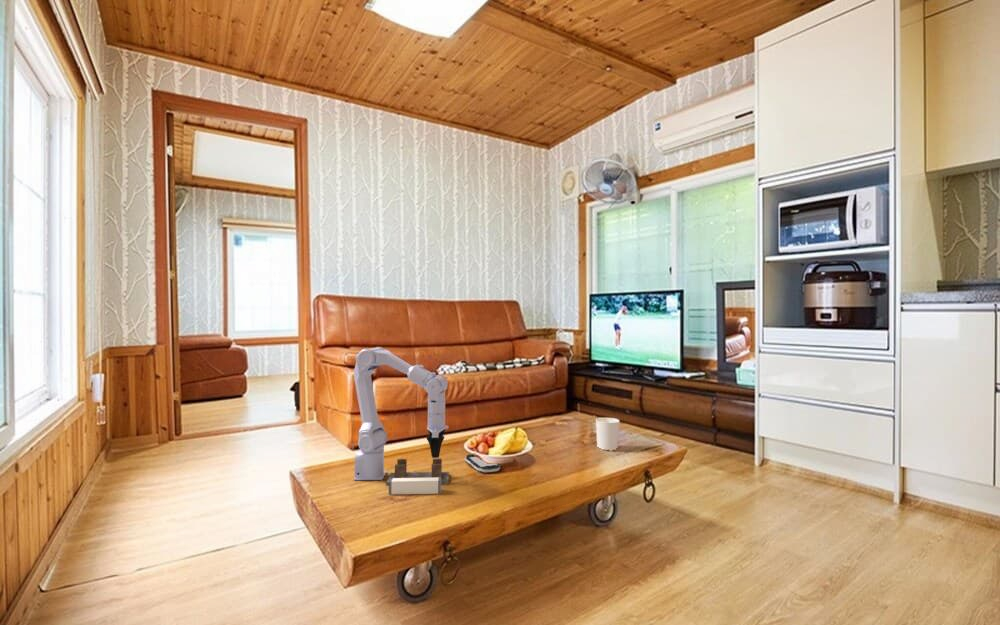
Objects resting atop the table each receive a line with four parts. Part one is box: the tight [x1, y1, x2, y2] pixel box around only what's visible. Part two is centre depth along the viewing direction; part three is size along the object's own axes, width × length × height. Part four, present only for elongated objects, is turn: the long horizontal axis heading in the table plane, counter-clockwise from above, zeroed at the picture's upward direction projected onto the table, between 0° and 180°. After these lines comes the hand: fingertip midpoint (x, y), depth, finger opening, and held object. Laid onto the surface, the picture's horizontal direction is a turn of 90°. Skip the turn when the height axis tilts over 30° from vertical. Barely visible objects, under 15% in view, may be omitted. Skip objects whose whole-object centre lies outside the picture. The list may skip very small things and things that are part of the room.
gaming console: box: [464, 453, 501, 475], centre depth 175 cm, size 19×9×3 cm, turn 24°
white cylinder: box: [595, 417, 621, 450], centre depth 198 cm, size 10×10×12 cm
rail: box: [388, 477, 442, 495], centre depth 148 cm, size 16×3×4 cm, turn 94°
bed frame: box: [385, 457, 450, 486], centre depth 159 cm, size 20×9×6 cm, turn 94°
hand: (436, 453), depth 156 cm, fingers open, 7 cm apart
